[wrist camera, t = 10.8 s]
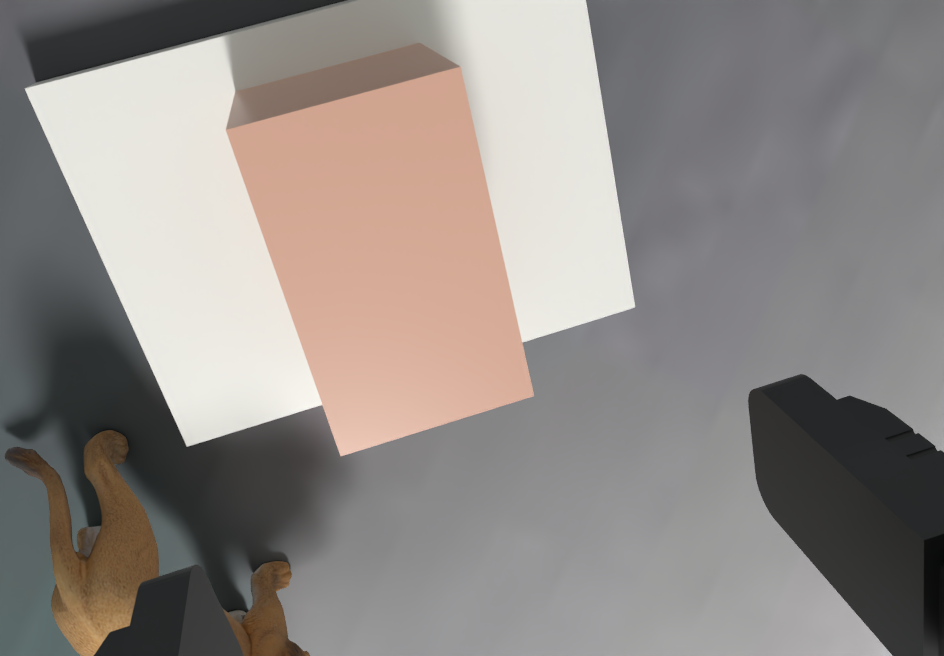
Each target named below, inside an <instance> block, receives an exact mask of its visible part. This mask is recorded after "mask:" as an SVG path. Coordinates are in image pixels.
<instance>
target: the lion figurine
mask: <svg viewBox="0 0 944 656" xmlns="http://www.w3.org/2000/svg"><path fill="white" fill-rule="evenodd" d="M127 452H128V444H127V440H126V437H125V436H123V435H122V434H120V433H118V432H116V431H113V430H107V431H103V432H100V433H98V434H96V435H95V436H94V437H93V438H92V439H91V440H90V441H89V442H88V443H87V444H86V446H85V448H84V472H85V476H86V477H87V479H88V480H89V481H90V482H91V483H92V485H93V487H94V488H95V490H96V493H97V496H98V499H99V503H100V508H101V513H102V524H101V526H95V527H85V528H82V529H80V530H79V531H78V534H77V544H78V548H79V552H75V550H74V547H73V544H72V525H71V516H70V510H69V505H68V500H67V496H66V492H65V489H64V486H63V483H62V481H61V478H60V476H59V474H58V473H57V472H56V471H55V470H54V468H52V467H51V466H50V465H49V464H48V463H47V462H46V461H45V460H43V459H42V458H41V457H40V456H39V455H38V454H37V452H36V451H34V450H33V449H24V448H20V447H13V448H10V449H8V451H7V452H6V453H5V459H6V461H7V462H9V463H10V464H12V465H14V466H16V467H18V468H20V469H22V470H23V471H24V472H25V473H27V474H28V475H30V476H34V477H37V478H38V479H40V480H42V481H43V483H44V484H45V486H46V488H47V492H48V500H49V509H50V546H51V554H52V560H53V571H54V575H55V580H56V585H55V588H54V591H53V596H52V600H51V606H52V612H53V616H54V619H55V621H56V623H57V625H58V626H59V628H60V630H61V632H62V633H63V634H64V635H65V637H66V638H67V639H68V641H69V642H70V644H71V645H72V646H73V648H74V649H75V651H76V652H77V653H79V654H80V655H81V656H94V654H95V653H96V652H97V650H98V649H99V647H100V646H101V644H102V643H103V641H104V640H105V638H106V637H107V635H108V634H109V633H110V632H112V631H115V630H118V629H121V628H124V627H127V626H130V622H131V618H132V613H133V609H134V604H135V600H136V595H137V591H138V588H139V586H140V584H141V583H142V582H144V581H147V580H150V579H153V578H156V577H159V574H158V573H159V558H158V548H157V543H156V540H155V537H154V534H153V531H152V528H151V525H150V522H149V519H148V516H147V514H146V512H145V510H144V508H143V506H142V505H141V503H140V501H139V500H138V498H137V497H136V496H135V494H134V493H133V492H132V490H131V489H130V487H129V486H128V485H127V483H126V482H125V481H124V479H123V478H122V477H121V475H120V473H119V472H118V470H117V469H116V467H115V464H121V463H123V462H125V460H126V455H127ZM291 576H292V573H291V571H290V568H289V564H288V563H287V562H283V561H273V562H268V563H264V564H263V565H261V566H260V567H259V568H258V569H257V570H256V571H255V572H254V573H253V574H252V576H251V592H252V597H253V605H252V608H251V609H250V610H249V611H248V612H247V613H246V612H244V611H240V610H235V611H231V612H226V611H225V610H224V609H223V608H222V609H223V611H224V613H225V615H226V617H227V619H228V621H229V623H230V625H231V627H232V630H233V632H234V634H235V636H236V638H237V640H238V642H239V644H240V647H241V649H242V652H243V656H310V655H309V653H308V652H307V651H303V650H302V649H301V648H300V647H299V646H298V645H297V644H295V643H293V642H291V641H289V639H288V635H287V627H286V622H285V616H284V612H283V608H282V605H281V603H280V601H279V599H278V597H277V594H276V591H278V590H280V589H282V588H286V587H287V586H288V585H289V580H290V578H291Z"/></svg>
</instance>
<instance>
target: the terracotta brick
mask: <svg viewBox="0 0 944 656" xmlns="http://www.w3.org/2000/svg"><path fill="white" fill-rule="evenodd" d="M226 132H227V135H228V138H229V141H230V144H231V147H232V149H233V152H234V155H235V158H236V161H237V164H238V166H239V169H240V172H241V175H242V178H243V181H244V183H245V186H246V189H247V192H248V195H249V198H250V201H251V203H252V206H253V209H254V212H255V215H256V218H257V220H258V223H259V226H260V229H261V232H262V235H263V237H264V240H265V243H266V246H267V249H268V252H269V254H270V257H271V260H272V263H273V266H274V269H275V271H276V274H277V277H278V280H279V283H280V286H281V288H282V291H283V294H284V297H285V300H286V303H287V306H288V308H289V311H290V314H291V317H292V320H293V323H294V325H295V328H296V331H297V334H298V337H299V340H300V342H301V345H302V348H303V351H304V354H305V357H306V359H307V362H308V365H309V368H310V371H311V374H312V376H313V379H314V382H315V385H316V388H317V391H318V394H319V396H320V399H321V402H322V405H323V408H324V411H325V413H326V416H327V419H328V422H329V425H330V428H331V430H332V433H333V436H334V439H335V442H336V445H337V447H338V450H339V453H340V456H344V455H347V454H350V453H353V452H356V451H360V450H363V449H366V448H369V447H372V446H376V445H379V444H382V443H385V442H388V441H392V440H395V439H398V438H401V437H404V436H408V435H411V434H414V433H417V432H420V431H424V430H427V429H430V428H433V427H436V426H440V425H443V424H446V423H449V422H452V421H455V420H459V419H462V418H465V417H468V416H471V415H475V414H478V413H481V412H484V411H487V410H491V409H494V408H497V407H500V406H503V405H507V404H510V403H513V402H516V401H519V400H523V399H526V398H529V397H532V396H534V393H533V389H532V384H531V380H530V375H529V371H528V366H527V362H526V357H525V353H524V348H523V344H522V339H521V335H520V330H519V326H518V321H517V317H516V312H515V308H514V303H513V299H512V294H511V290H510V286H509V281H508V277H507V272H506V268H505V263H504V259H503V254H502V250H501V245H500V241H499V236H498V232H497V227H496V223H495V218H494V214H493V209H492V205H491V200H490V196H489V191H488V187H487V182H486V178H485V174H484V169H483V165H482V160H481V156H480V151H479V147H478V142H477V138H476V133H475V129H474V124H473V120H472V115H471V111H470V106H469V102H468V97H467V93H466V88H465V84H464V79H463V75H462V71H461V67H460V66H459V65H457V64H455V63H454V62H452V61H450V60H448V59H447V58H445V57H443V56H442V55H440V54H438V53H436V52H435V51H433V50H431V49H430V48H428V47H426V46H424V45H423V44H421V43H416V44H413V45H409V46H405V47H401V48H398V49H394V50H390V51H386V52H383V53H379V54H375V55H371V56H367V57H364V58H360V59H356V60H352V61H349V62H345V63H341V64H337V65H334V66H330V67H326V68H322V69H319V70H315V71H311V72H307V73H303V74H300V75H296V76H292V77H288V78H285V79H281V80H277V81H273V82H270V83H266V84H262V85H258V86H255V87H251V88H247V89H243V90H239V91H236V92H235V95H234V99H233V103H232V107H231V111H230V115H229V119H228V123H227V127H226Z"/></svg>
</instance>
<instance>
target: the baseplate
mask: <svg viewBox="0 0 944 656" xmlns="http://www.w3.org/2000/svg"><path fill="white" fill-rule="evenodd" d="M416 43H421V44H423V45H424V46H426V47H428V48H430V49H431V50H433V51H435V52H436V53H438V54H440V55H442V56H443V57H445V58H447V59H448V60H450V61H452V62H454V63H455V64H457V65H459V66H460V67H461V71H462V75H463V79H464V84H465V88H466V93H467V97H468V102H469V106H470V111H471V115H472V120H473V124H474V129H475V133H476V138H477V142H478V147H479V151H480V156H481V160H482V165H483V169H484V174H485V178H486V182H487V187H488V191H489V196H490V200H491V205H492V209H493V214H494V218H495V223H496V227H497V232H498V236H499V241H500V245H501V250H502V254H503V259H504V263H505V268H506V272H507V277H508V281H509V286H510V290H511V294H512V299H513V303H514V308H515V312H516V317H517V321H518V326H519V330H520V335H521V339H522V342H525V341H529V340H532V339H535V338H538V337H542V336H545V335H548V334H551V333H554V332H558V331H561V330H564V329H567V328H570V327H574V326H577V325H580V324H583V323H587V322H590V321H593V320H596V319H599V318H603V317H606V316H609V315H612V314H615V313H619V312H622V311H625V310H628V309H632V308H635V304H634V297H633V291H632V285H631V279H630V273H629V266H628V260H627V254H626V248H625V241H624V235H623V229H622V223H621V216H620V210H619V204H618V198H617V191H616V185H615V179H614V173H613V167H612V160H611V154H610V148H609V142H608V135H607V129H606V123H605V117H604V110H603V104H602V98H601V92H600V85H599V79H598V73H597V67H596V60H595V54H594V48H593V42H592V36H591V29H590V23H589V17H588V11H587V4H586V0H346V1H343V2H339V3H335V4H331V5H328V6H324V7H320V8H316V9H312V10H309V11H305V12H301V13H297V14H293V15H290V16H286V17H282V18H278V19H275V20H271V21H267V22H263V23H259V24H256V25H252V26H248V27H244V28H241V29H237V30H233V31H229V32H225V33H222V34H218V35H214V36H210V37H207V38H203V39H199V40H195V41H191V42H188V43H184V44H180V45H176V46H172V47H169V48H165V49H161V50H157V51H154V52H150V53H146V54H142V55H138V56H135V57H131V58H127V59H123V60H120V61H116V62H112V63H108V64H104V65H101V66H97V67H93V68H89V69H85V70H82V71H78V72H74V73H70V74H67V75H63V76H59V77H55V78H51V79H48V80H44V81H40V82H36V83H34V84H32V85H30V86H29V87H27V88H25V90H26V93H27V95H28V97H29V99H30V101H31V104H32V106H33V108H34V110H35V113H36V115H37V117H38V119H39V121H40V124H41V126H42V128H43V130H44V132H45V135H46V137H47V139H48V141H49V143H50V146H51V148H52V150H53V152H54V154H55V157H56V159H57V161H58V163H59V165H60V168H61V170H62V172H63V174H64V177H65V179H66V181H67V183H68V185H69V188H70V190H71V192H72V194H73V196H74V199H75V201H76V203H77V205H78V207H79V210H80V212H81V214H82V216H83V218H84V221H85V223H86V225H87V227H88V230H89V232H90V234H91V236H92V238H93V241H94V243H95V245H96V247H97V249H98V252H99V254H100V256H101V258H102V260H103V263H104V265H105V267H106V269H107V271H108V274H109V276H110V278H111V280H112V282H113V285H114V287H115V289H116V291H117V294H118V296H119V298H120V300H121V302H122V305H123V307H124V309H125V311H126V313H127V316H128V318H129V320H130V322H131V324H132V327H133V329H134V331H135V333H136V335H137V338H138V340H139V342H140V344H141V347H142V349H143V351H144V353H145V355H146V358H147V360H148V362H149V364H150V366H151V369H152V371H153V373H154V375H155V377H156V380H157V382H158V384H159V386H160V388H161V391H162V393H163V395H164V397H165V399H166V402H167V404H168V406H169V408H170V411H171V413H172V415H173V417H174V419H175V422H176V424H177V426H178V428H179V430H180V433H181V435H182V437H183V439H184V441H185V444H186V446H187V447H188V446H191V445H194V444H198V443H201V442H204V441H207V440H211V439H214V438H217V437H220V436H223V435H227V434H230V433H233V432H236V431H239V430H243V429H246V428H249V427H252V426H256V425H259V424H262V423H265V422H268V421H272V420H275V419H278V418H281V417H284V416H288V415H291V414H294V413H297V412H301V411H304V410H307V409H310V408H313V407H317V406H320V405H322V402H321V399H320V396H319V394H318V391H317V388H316V385H315V382H314V379H313V376H312V374H311V371H310V368H309V365H308V362H307V359H306V357H305V354H304V351H303V348H302V345H301V342H300V340H299V337H298V334H297V331H296V328H295V325H294V323H293V320H292V317H291V314H290V311H289V308H288V306H287V303H286V300H285V297H284V294H283V291H282V288H281V286H280V283H279V280H278V277H277V274H276V271H275V269H274V266H273V263H272V260H271V257H270V254H269V252H268V249H267V246H266V243H265V240H264V237H263V235H262V232H261V229H260V226H259V223H258V220H257V218H256V215H255V212H254V209H253V206H252V203H251V201H250V198H249V195H248V192H247V189H246V186H245V183H244V181H243V178H242V175H241V172H240V169H239V166H238V164H237V161H236V158H235V155H234V152H233V149H232V147H231V144H230V141H229V138H228V135H227V132H226V127H227V123H228V119H229V115H230V111H231V107H232V103H233V99H234V95H235V92H236V91H239V90H243V89H247V88H251V87H255V86H258V85H262V84H266V83H270V82H273V81H277V80H281V79H285V78H288V77H292V76H296V75H300V74H303V73H307V72H311V71H315V70H319V69H322V68H326V67H330V66H334V65H337V64H341V63H345V62H349V61H352V60H356V59H360V58H364V57H367V56H371V55H375V54H379V53H383V52H386V51H390V50H394V49H398V48H401V47H405V46H409V45H413V44H416Z"/></svg>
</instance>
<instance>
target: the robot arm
mask: <svg viewBox="0 0 944 656" xmlns="http://www.w3.org/2000/svg"><path fill="white" fill-rule="evenodd" d="M748 403H749V414H750V424H751V434H752V444H753V454H754V463H755V473H756V480H757V484H758V487H759V491H760V493H761V496H762V498H763V501H764V503H765V505H766V507H767V509H768V510H769V512H770V513H771V515H772V516H773V518H774V519H775V520H776V521H777V523H778V524H779V525H780V526H781V527H782V528H783V529H784V531H785V532H786V533H787V534H788V535H789V536H790V538H791V539H792V540H793V541H794V542H795V543H796V544H797V546H798V547H799V548H800V549H801V550H802V551H803V553H804V554H805V555H806V556H807V557H808V558H809V559H810V561H811V562H812V563H813V564H814V565H815V566H816V568H817V569H818V570H819V571H820V572H821V573H822V574H823V576H824V577H825V578H826V579H827V580H828V581H829V582H830V584H831V585H832V586H833V587H834V588H835V589H836V591H837V592H838V593H839V594H840V595H841V596H842V597H843V599H844V600H845V601H846V602H847V603H848V604H849V606H850V607H851V608H852V609H853V610H854V611H855V612H856V614H857V615H858V616H859V617H860V618H861V619H862V621H863V622H864V623H865V624H866V625H867V626H868V627H869V629H870V630H871V631H872V632H873V633H874V634H875V636H876V637H877V638H878V639H879V640H880V641H881V642H882V644H883V645H884V646H885V647H886V648H887V649H888V651H889V652H890V653H891V654H892V655H893V656H944V452H942V451H941V450H940V451H937V450H936V448H935V446H934V445H933V444H932V443H931V442H929V441H928V440H927V439H925V438H924V437H923V436H921V435H920V434H919V433H917V434H915V433H914V431H913V429H912V428H911V427H909V426H908V425H907V424H905V423H904V422H903V421H902V420H900V419H899V418H898V417H896V416H895V415H894V414H892V413H891V412H890V411H888V410H887V409H885V408H882V407H880V406H877V405H874V404H871V403H868V402H866V401H863V400H860V399H857V398H855V397H852V396H847V397H844V398H841V399H838V400H836V399H835V398H834V397H833V396H832V395H830V394H829V393H828V392H827V391H825V390H824V389H823V388H822V387H820V386H819V385H818V384H817V383H815V382H814V381H813V380H812V379H811V378H809V377H808V376H806V375H802V374H800V375H797V376H794V377H790V378H787V379H784V380H781V381H778V382H775V383H772V384H768V385H765V386H762V387H759V388H756V389H753V390H752V391H751V392H750V394H749V400H748ZM94 656H243V652H242V649H241V647H240V644H239V642H238V640H237V638H236V636H235V634H234V632H233V630H232V627H231V625H230V623H229V621H228V619H227V617H226V615H225V613H224V611H223V609H222V607H221V605H220V603H219V600H218V598H217V596H216V594H215V592H214V590H213V588H212V586H211V584H210V582H209V580H208V578H207V576H206V574H205V572H204V571H203V569H202V568H201V567H200V566H198V565H194V566H191V567H188V568H185V569H182V570H178V571H175V572H172V573H169V574H166V575H163V576H159V577H156V578H153V579H150V580H147V581H144V582H142V583H141V584H140V586H139V588H138V591H137V595H136V600H135V604H134V609H133V613H132V618H131V622H130V626H127V627H124V628H121V629H118V630H115V631H112V632H110V633H109V634H108V635H107V637H106V638H105V640H104V641H103V643H102V644H101V646H100V647H99V649H98V650H97V652H96V653H95V654H94Z"/></svg>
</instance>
